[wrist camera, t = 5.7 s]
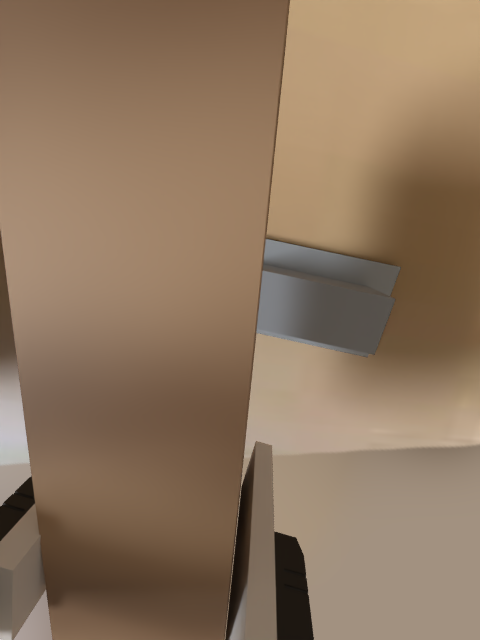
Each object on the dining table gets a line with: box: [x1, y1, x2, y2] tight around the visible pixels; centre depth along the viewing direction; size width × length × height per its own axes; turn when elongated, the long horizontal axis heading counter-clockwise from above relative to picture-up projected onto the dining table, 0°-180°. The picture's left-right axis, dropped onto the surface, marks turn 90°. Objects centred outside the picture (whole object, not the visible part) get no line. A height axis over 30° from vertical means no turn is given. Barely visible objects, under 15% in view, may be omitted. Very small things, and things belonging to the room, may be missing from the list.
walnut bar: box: [0, 0, 290, 640], centre depth 9 cm, size 20×5×6 cm, turn 175°
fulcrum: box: [256, 239, 401, 357], centre depth 21 cm, size 8×14×6 cm, turn 79°
